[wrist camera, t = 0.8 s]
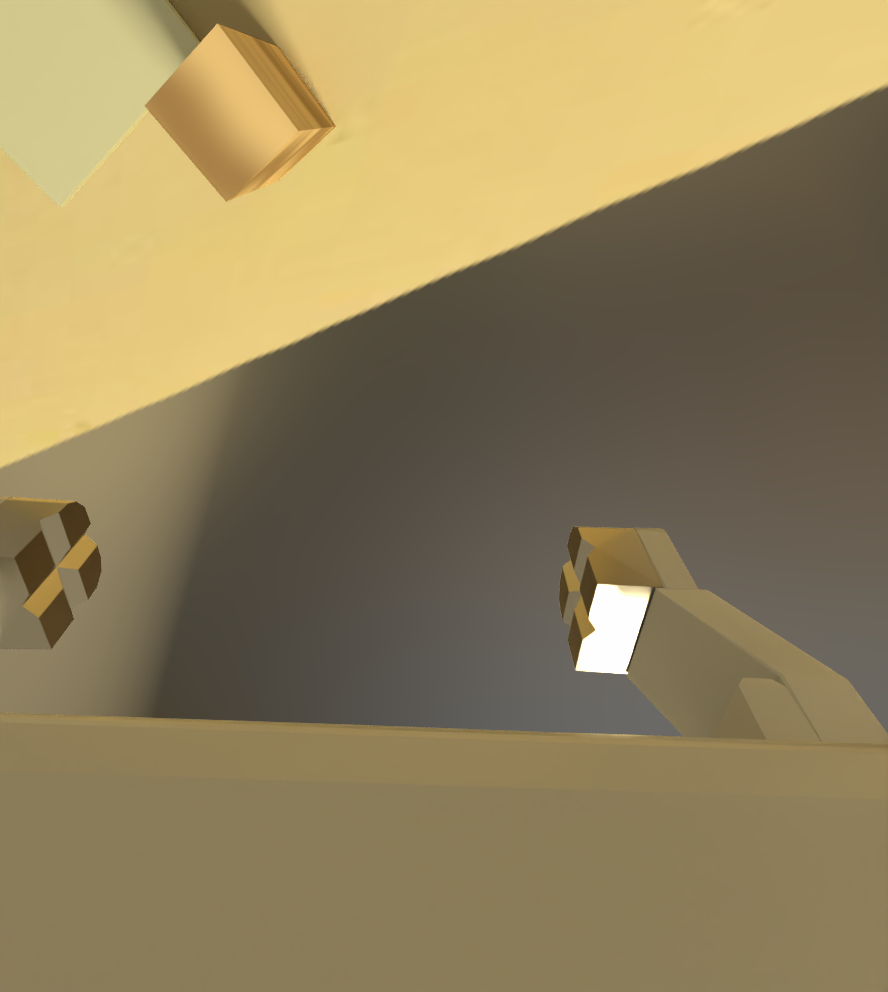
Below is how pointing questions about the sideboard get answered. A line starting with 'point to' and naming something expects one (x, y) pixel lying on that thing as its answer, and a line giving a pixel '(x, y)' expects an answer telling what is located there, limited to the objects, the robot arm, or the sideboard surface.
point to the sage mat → (81, 81)
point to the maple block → (239, 112)
